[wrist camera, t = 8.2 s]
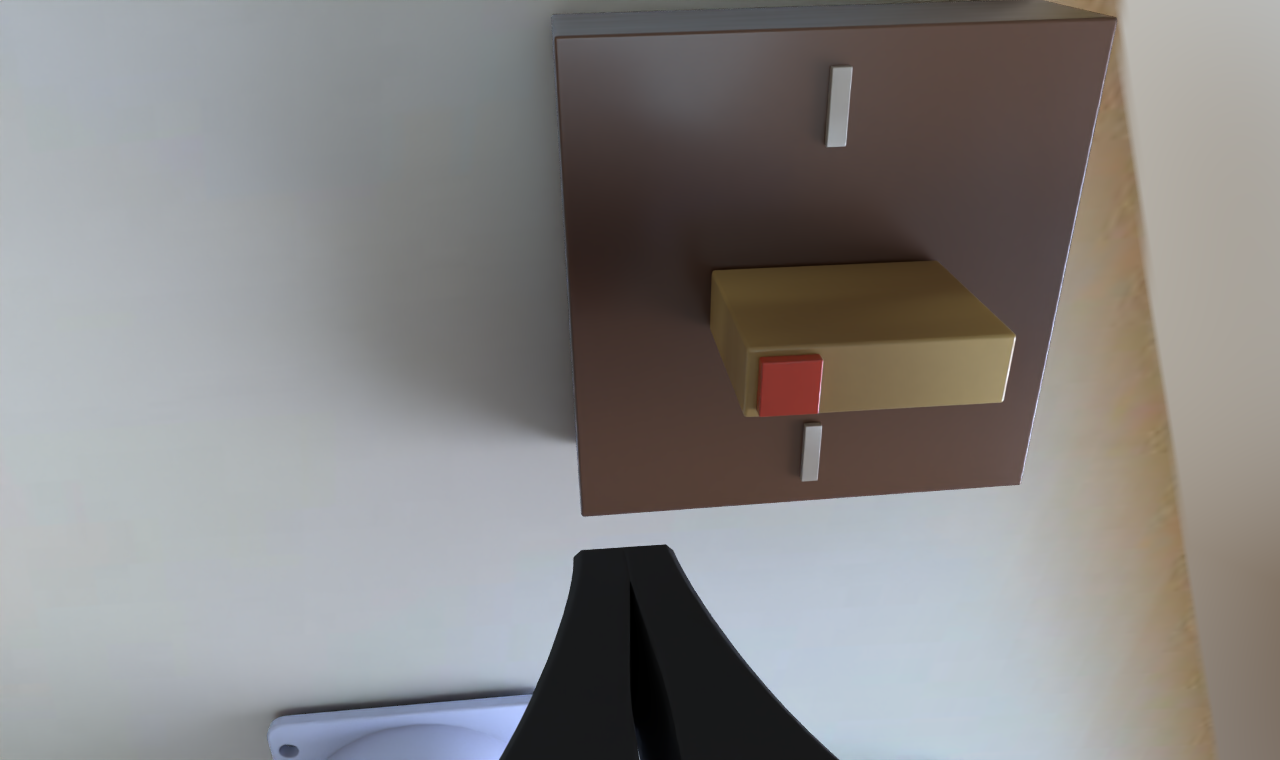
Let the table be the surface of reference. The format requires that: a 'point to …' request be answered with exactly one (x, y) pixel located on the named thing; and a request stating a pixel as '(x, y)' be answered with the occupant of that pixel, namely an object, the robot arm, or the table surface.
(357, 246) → the table surface
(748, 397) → the thumbturn
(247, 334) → the table surface
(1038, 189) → the plate
